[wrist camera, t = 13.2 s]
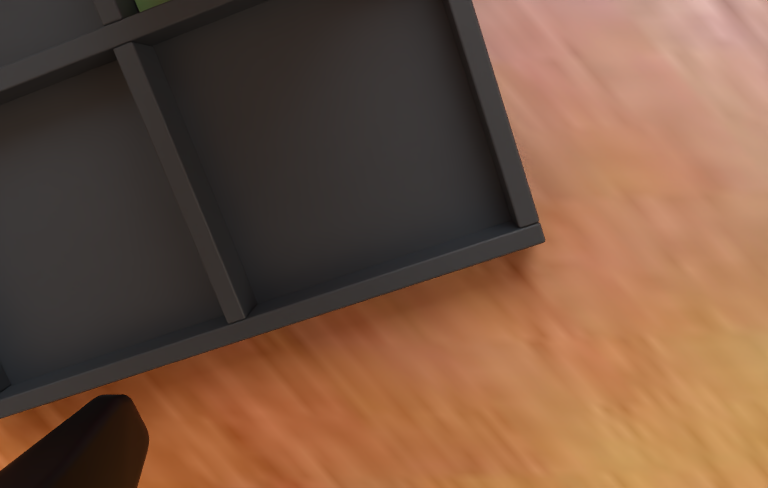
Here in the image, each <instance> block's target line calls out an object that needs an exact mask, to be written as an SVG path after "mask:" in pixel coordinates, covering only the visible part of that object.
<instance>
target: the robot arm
mask: <svg viewBox="0 0 768 488" xmlns="http://www.w3.org/2000/svg"><path fill="white" fill-rule="evenodd" d="M148 446H149V435H148V431H147V428H146V426H145V424H144V422H143V420H142V419H141V417H140V415H139V413H138V411H137V409H136V407H135V405H134V403H133V401H132V400H131V398H129V397H128V396H127V395H100V396H98V397H96V398H94V399H93V400H92V401H90V402H89V403H88V404H86V405H85V406H84V407H83V408H81V409H80V410H79V411H77V412H76V413H75V414H73V415H72V416H71V417H70V418H68V419H67V420H66V421H64V422H63V423H62V424H61V425H59V426H58V427H57V428H55V429H54V430H53V431H51V432H50V433H49V434H48V435H46V436H45V437H44V438H42V439H41V440H40V441H38V442H37V443H36V444H35V445H33V446H32V447H31V448H29V449H28V450H27V451H25V452H24V453H23V454H22V455H20V456H19V457H18V458H16V459H15V460H14V461H13V462H11V463H10V464H9V465H7V466H6V467H5V468H3V469H2V470H1V471H0V488H137V486H138V483H139V479H140V476H141V472H142V468H143V465H144V461H145V458H146V454H147V451H148Z"/></svg>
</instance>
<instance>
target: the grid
mask: <svg viewBox="0 0 768 488" xmlns="http://www.w3.org/2000/svg"><path fill="white" fill-rule="evenodd" d="M544 242H545V237H544V234H543V231H542V227H541V224H540V223H539V218H538V214H537V211H536V208H535V205H534V201H533V198H532V195H531V192H530V188H529V185H528V182H527V179H526V175H525V172H524V169H523V166H522V162H521V159H520V156H519V153H518V149H517V146H516V143H515V140H514V136H513V133H512V130H511V127H510V123H509V120H508V117H507V114H506V110H505V107H504V104H503V101H502V97H501V94H500V91H499V88H498V84H497V81H496V78H495V75H494V71H493V68H492V65H491V62H490V58H489V55H488V52H487V49H486V45H485V42H484V39H483V36H482V32H481V29H480V26H479V23H478V19H477V16H476V13H475V9H474V6H473V3H472V0H0V419H1V418H4V417H7V416H10V415H13V414H17V413H20V412H23V411H26V410H29V409H32V408H35V407H38V406H41V405H44V404H47V403H50V402H54V401H57V400H60V399H63V398H66V397H69V396H72V395H75V394H78V393H81V392H84V391H87V390H91V389H94V388H97V387H100V386H103V385H106V384H109V383H112V382H115V381H118V380H121V379H124V378H128V377H131V376H134V375H137V374H140V373H143V372H146V371H149V370H152V369H155V368H158V367H161V366H165V365H168V364H171V363H174V362H177V361H180V360H183V359H186V358H189V357H192V356H195V355H198V354H202V353H205V352H208V351H211V350H214V349H217V348H220V347H223V346H226V345H229V344H232V343H235V342H239V341H242V340H245V339H248V338H251V337H254V336H257V335H260V334H263V333H266V332H269V331H272V330H276V329H279V328H282V327H285V326H288V325H291V324H294V323H297V322H300V321H303V320H306V319H309V318H313V317H316V316H319V315H322V314H325V313H328V312H331V311H334V310H337V309H340V308H343V307H346V306H350V305H353V304H356V303H359V302H362V301H365V300H368V299H371V298H374V297H377V296H380V295H383V294H387V293H390V292H393V291H396V290H399V289H402V288H405V287H408V286H411V285H414V284H417V283H420V282H424V281H427V280H430V279H433V278H436V277H439V276H442V275H445V274H448V273H451V272H454V271H457V270H461V269H464V268H467V267H470V266H473V265H476V264H479V263H482V262H485V261H488V260H491V259H495V258H498V257H501V256H504V255H507V254H510V253H513V252H516V251H519V250H522V249H525V248H528V247H532V246H535V245H538V244H541V243H544Z"/></svg>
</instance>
